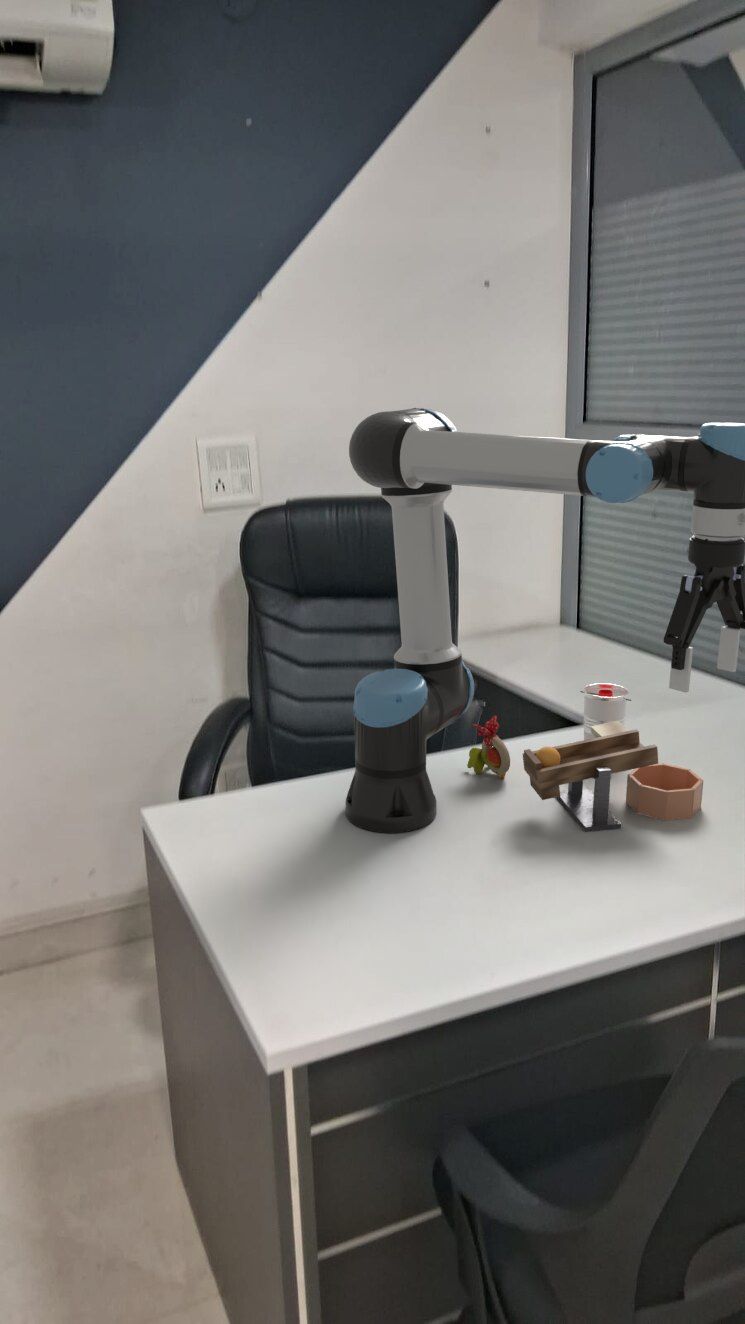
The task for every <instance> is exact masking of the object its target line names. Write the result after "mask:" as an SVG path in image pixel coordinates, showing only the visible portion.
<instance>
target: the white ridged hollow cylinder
mask: <svg viewBox="0 0 745 1324" xmlns="http://www.w3.org/2000/svg"><path fill="white" fill-rule="evenodd" d="M582 690H583V691H581V690H580V693H582V694H583V740H588V739H593V738H597V737H595V736H594V735H593V734H592V733H591V726H595V725H599V724H604V723H609V722H614V721H619V722H620V723H621V724H622V725H623V726H625V721H626V711H627V701H631V702H632V699H629V698H628V695H629V693H630V691H629V689H628V688H626V687H624V686H621V685H618V684H614V683H600V682H599V683H592V684H588V685H585V686H584V687H583V688H582Z"/></svg>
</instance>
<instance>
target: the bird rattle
mask: <svg viewBox="0 0 745 1324" xmlns="http://www.w3.org/2000/svg"><path fill="white" fill-rule="evenodd" d="M497 719H498V716H497V715H493V716H492V717H491V718H490V720H488V721H486V722H485V726H484V727H483V726H480V725H478V724H475V723H473V724H472V727H473V728H476V729H478V730H477V735H478V736H479V737H483V741H482V742H481V743H482V744H481V748H479V747H472V748H471V749H470V750H469V752H468V753H469V754H468V757H469V759H468V761H467V765H466V766H467V768H468V769H471V768H473V772H474V773H475V774H477V775H478V774H482V772H483V770H484V766H485V765H486V766H487V768H488V769H489V770H490V771H491V772H493V773H494V774H495V775H496V776H497V777H498V778H499V779H503V778H505V777H506V774H507V773H508V771H509V770H510V767H511V756H510V752H509V750H508V748H507V745H505V743H504V741H503V740H502V739H501V738H500V737H499V735H497V734H496V733H497V732H498V730H499V728H500V725H499V723H498V722H497Z"/></svg>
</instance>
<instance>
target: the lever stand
mask: <svg viewBox="0 0 745 1324" xmlns="http://www.w3.org/2000/svg"><path fill="white" fill-rule="evenodd" d="M574 742H575V741H570V743H574ZM611 779H612V774H611V769H610V768H609V767H608V766H605V767H595V779H594V782H593V783H594V786H593V792H592V790H590V788H583V786H584V780H581V781H576V782H572V783H567V785H568V786H567V790H560V796H559V797H556V799H557V800H559V802H560V803H561V805H562V806H563V807H564V808H565V809H566V810H567V812H568V813H569V814H570V815H571V817H572V818H573V819H574V820H575V821H576V823H577V824H578V825H579V826H580V827H581V829H583V831H584V832H585V833H588V832H589V833H590V832H598V831H599V832H600V831H610V830H617V829H618V830H620V829H622V823H621V822H620V821H619V819H618V818H616V816H615V815H614V814H613V813H612V812H611V811H610V810H609V808H610V806H609V805H610V792H611V790H610V789H611Z"/></svg>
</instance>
